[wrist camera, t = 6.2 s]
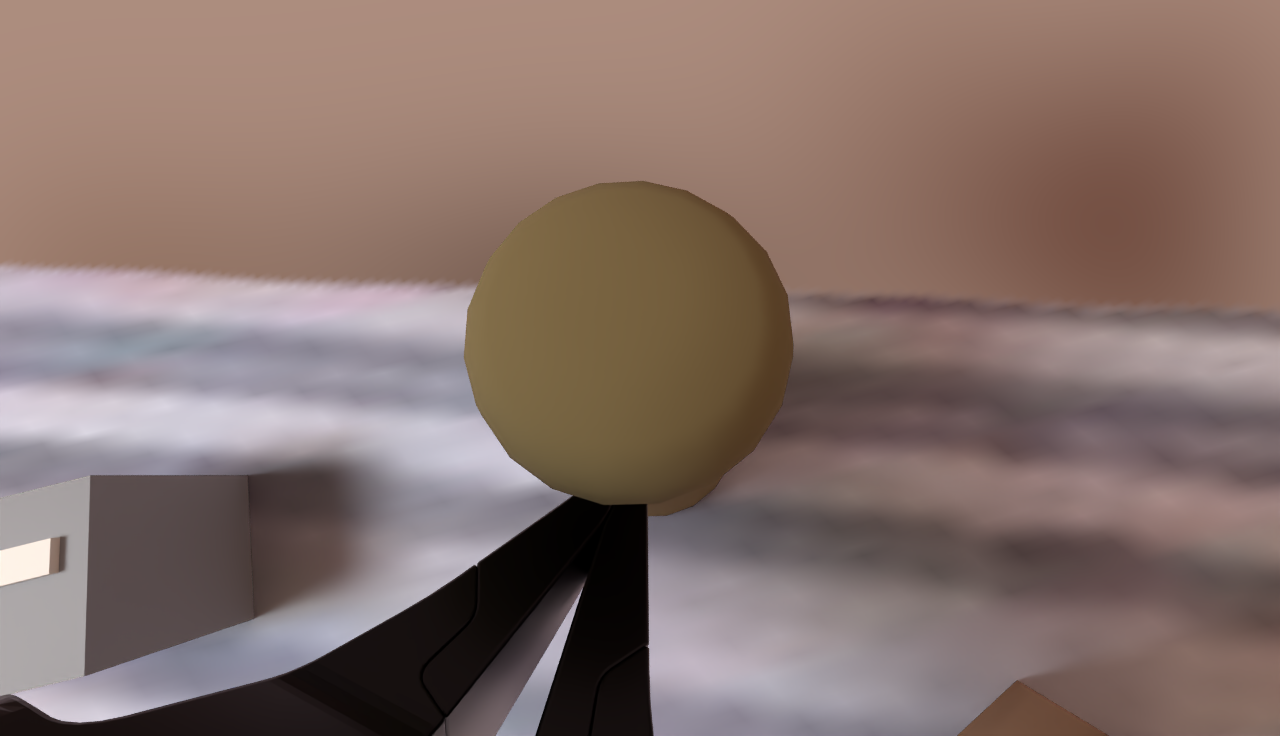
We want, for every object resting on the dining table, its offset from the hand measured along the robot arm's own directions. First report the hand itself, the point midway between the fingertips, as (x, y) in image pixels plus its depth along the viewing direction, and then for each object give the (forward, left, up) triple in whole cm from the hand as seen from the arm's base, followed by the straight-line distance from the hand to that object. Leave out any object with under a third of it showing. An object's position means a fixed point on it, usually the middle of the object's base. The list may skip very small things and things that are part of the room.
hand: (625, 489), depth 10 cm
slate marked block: (+6, +16, -7) cm, 18 cm away
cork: (+2, -1, -7) cm, 7 cm away
